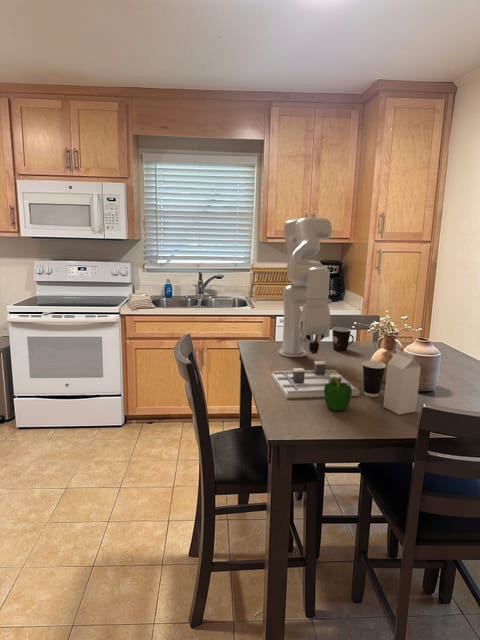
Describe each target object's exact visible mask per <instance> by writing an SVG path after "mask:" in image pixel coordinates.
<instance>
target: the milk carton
mask: <svg viewBox="0 0 480 640" xmlns="http://www.w3.org/2000/svg"><path fill="white" fill-rule="evenodd" d="M386 363H387V364H386V374H385V375H386V376H385V387H384V397H383V408H385V409H387V410H389V411H391V412H392V413H395V414H396V415H404V414H410V413H415V412H416V411H417V403H418V394H419V385H420V377H421V368H422V367H421V366H420V364H419V363H418V362H417V361H416V360H415V355H414V354H410V353H408V352H405V351H402V350H399V349H396V352H395V354H393V356H392V358H391V359H390V361H389V362H386Z"/></svg>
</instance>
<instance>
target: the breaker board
mask: <svg viewBox="0 0 480 640" xmlns="http://www.w3.org/2000/svg"><path fill="white" fill-rule="evenodd" d="M304 370H305V369H304ZM329 375H340V376H341V383H346V384H347V385H348V386H351V389H352V393H351V397H354V396H355V397H357V396H360V390H359V388H357V387H355V386H354V385H352V383H351V382H350V381H348V380H347V379H346V378H344V377H343V375H342V374H340V373H339V372H337V370H336V369H325V375H315V374H314V369H312V370H305V375H304V382H302V383H294V382H293V370H278V371H277V370H273V371H272V373H271V378H272V379H273V381H274V383H276V385H277V387H278V388H279V390H280V391H281V393H282V394H283V395H284V396H285V398H286V399H298V398H299V399H300V398H322V397H323V398H325V395H324V386H325V385H326V383H327V384H329Z"/></svg>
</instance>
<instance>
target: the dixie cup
mask: <svg viewBox="0 0 480 640" xmlns="http://www.w3.org/2000/svg"><path fill="white" fill-rule="evenodd" d="M361 365H362V371H363V376H362V377H363V381H362V382H363V391H364V393H363V394H364V395H365V396H368V397H378V396H379V394H380V393H381V388H382V383H383V378H384V375H385V374H384V373H385V370H386V368H387V364H386V363H385V362H380V361H377V360H376V361H375V360H364V361H363V362H362V364H361Z"/></svg>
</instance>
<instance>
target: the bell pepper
mask: <svg viewBox="0 0 480 640" xmlns="http://www.w3.org/2000/svg"><path fill="white" fill-rule="evenodd" d="M332 380H335V381H336V383H335V382H330V383H329V384H327V383H326V385H325V386H324V395H325V397H324V400H325V404H326V406H327V407H328V408H329V409H330V410H332V411H335V412H342V411H344V410H346V409H347V408H348V407H349V403H350V401H351V397H352V396H351V393H352V389H351V386H348V385H347V384H346V383H339V380H338V379H337V378H336V377H332Z"/></svg>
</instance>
